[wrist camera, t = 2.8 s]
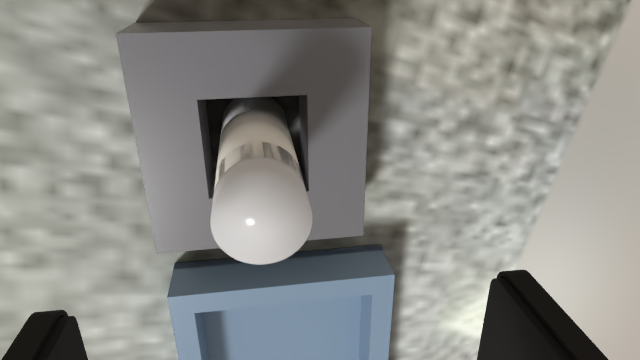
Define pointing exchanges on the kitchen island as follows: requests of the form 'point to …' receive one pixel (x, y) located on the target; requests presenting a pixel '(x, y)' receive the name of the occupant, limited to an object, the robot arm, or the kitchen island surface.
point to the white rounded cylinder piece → (258, 185)
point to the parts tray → (285, 307)
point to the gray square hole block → (243, 82)
